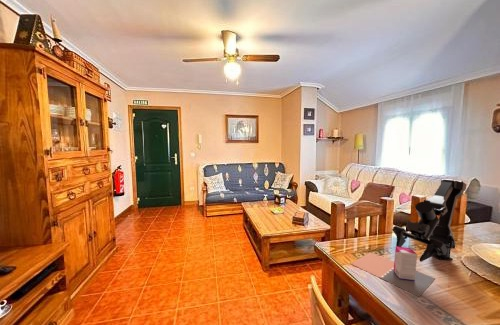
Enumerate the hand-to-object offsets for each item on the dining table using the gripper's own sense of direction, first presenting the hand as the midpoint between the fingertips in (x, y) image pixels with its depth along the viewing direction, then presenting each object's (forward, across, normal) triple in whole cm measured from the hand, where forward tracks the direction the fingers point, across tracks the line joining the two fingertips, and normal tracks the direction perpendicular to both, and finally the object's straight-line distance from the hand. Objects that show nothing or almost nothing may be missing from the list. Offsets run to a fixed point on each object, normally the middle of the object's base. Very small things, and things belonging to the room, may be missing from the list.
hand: (407, 255), depth 90 cm
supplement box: (+7, 0, +5) cm, 9 cm away
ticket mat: (+8, -5, +5) cm, 11 cm away
